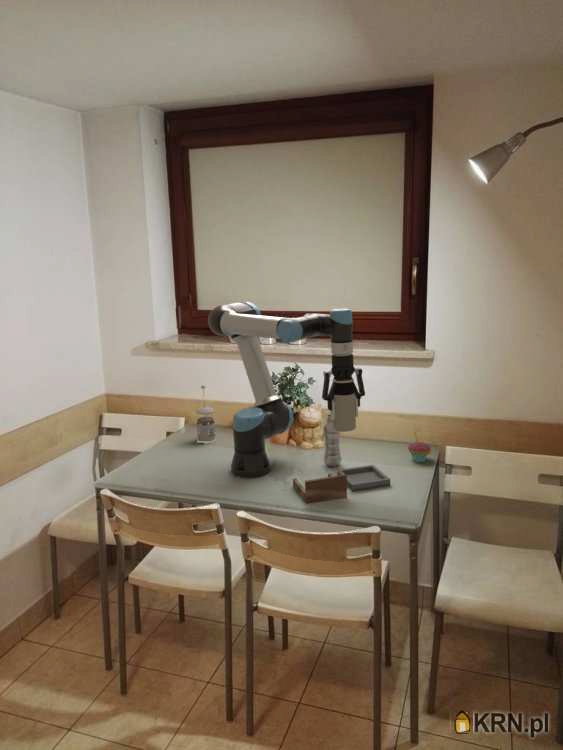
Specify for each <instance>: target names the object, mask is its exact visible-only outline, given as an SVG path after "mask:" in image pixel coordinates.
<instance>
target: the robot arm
mask: <svg viewBox="0 0 563 750" xmlns="http://www.w3.org/2000/svg"><path fill="white" fill-rule="evenodd" d="M353 322H354V321H353V312H352V310H351V309H350V308H332V309H331V310H329V314H327V313H316V312H314V313H313V312H312V313H306V314H304V315H303V316H300V317H296V318H295V317H294V318H293V317H282V316H272V315H270V316H269V315H262V313H261V311H260V309H259V308H258V307H257V305H256V304H254V303H252V302H250V301H238V302H234V303H227V304H221V305H218V306H215V307H214V308H213V309H212V310H211V311H210V313H209V314H208V318H207V324H208V327H209V329H210V330H211V332H213V333H214V334H215V335H217V336H222V337H224V336H225V337H230V338H231V341H233V342H234V343H236V344H237V348H238V351H239V355H240V357H241V360H242V363H243V366H244V369H245V373H246V376H247V378H248V382H249V385H250V388H251V391H252V394H253V397H254V400H255V402H254V404H253V407H252V406H251V407H248V408H247V407H246V408H242V409H240V410H238V411H236V412H235V413H234V414H233V419H232V431H233V444H234V445H233V446H234V447H233V449H234V452H233V457H232V461H231V463H230V472H232V473H233V474H234V476H235V475H236V476H235V477H238V476H240V477H239V478H244V477H246V478H258V477H263V476H265V475H268V473H270V472H271V462H270V460H269V457H268V454H267V451H266V441H265V440H268V439H270V438H273V437H275V436H278V435H281V434H283V433H284V432H286V431H288V430H290V429H291V427H292V424H293V422H294V413H293V410H292V407H291V406H290V405H288V403H287V402H285V401H283V398H282V397H281V396H280V395H278V394H277V392H276V388H275V386H274V383H273V380H272V377H271V374H270V369H269V368H268V364H267V361H266V359H265V355H264V352H263V350H262V346H261V342H260V340H259V338H268V339H278V340H280V341H282V342H283V343H287V344H289V343H296V342H297V341H302V340H305V339H309V338H314V337H318V336H321V337H322V336H327V337H330V347H331V349H330V352H331V354H332V355H331V369H330V370H329V371H326V370H325V371H323V377H324V378H323V385H322V386H323V387H322V394H321V399H322V400H324V401H327V403H326V404H327V410H328V411H329V413H330V416H331V419H333V420H335V402H334V401H333V397H334V390H335V387H336V383H333V382H332V384H331V386H330V383H331V382H330V381H331V376H333V379H337V380H336V381H340V380H346V379H349V380H351V379H354V378H353V374H355V376H356V377H355V378H356V381H357V385H356V383H355V381H353V386H354V387H355V414H356V418H357V417H358V418H359V408H360V406H361V399H362V397H364V396H366V392H365V386H364V382H363V381H364V379H363V369H362V368H360V367H355V366H354V361H355V360H354V354H353V353H354V341H353V339H354V338H353V336H354V335H353V328H354V327H353ZM357 387H358V388H357ZM329 388H330V389H329ZM232 473H231V474H232ZM233 474H232V475H233Z"/></svg>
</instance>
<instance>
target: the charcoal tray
mask: <svg viewBox="0 0 563 750" xmlns="http://www.w3.org/2000/svg"><path fill="white" fill-rule="evenodd" d="M336 472H337V473H336V476H339V475H346V476H347V489H349V490H350V491H351V492H359V490H360V491H364V490H365V489H366V490H372V489H378V488H384V487H390V486H391V478H390V477H388V476H387V475H386V474H385V473H383V472H382V471H381V470H380V469H379V468H378V467H377V466H376V465H374V464H368V465H363V466H355V467H354V466H353V467H348V468H341V469H337V470H336Z"/></svg>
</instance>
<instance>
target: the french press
mask: <svg viewBox="0 0 563 750" xmlns="http://www.w3.org/2000/svg"><path fill="white" fill-rule="evenodd" d="M200 389H202V392H203V393H202V394H203V396H205V391H204V390H205V389H206V385H202V384H201V386H200ZM205 403H206V402H203V405H204V406H201V407H199V408H197V409H196V410H195V414H197V415H198V414H199V415H206V416H203V417H199V418H197V420H196V421H197V422H196V431H197V439H198V440H199V441H212V440H214V439H215V437H216V428H215V427H216V424H215V421H214V417H212V414H213V413H214V411H215V409H214V408H212V407H210V406H205ZM209 414H210V416H209Z"/></svg>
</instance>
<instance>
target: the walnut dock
mask: <svg viewBox="0 0 563 750" xmlns="http://www.w3.org/2000/svg"><path fill="white" fill-rule="evenodd" d="M292 487H293V488H294V490H295V491H296V492H297V493H298V495H299V496H300V497H301V498H302V500H303V501H304V503H305V504H306V505H310V503H311V504H316V503H323V502H328V501H335V500H336V501H337V500H342V499H347V498H348V487H347V476H346V475H339V476H337V475H334V474H333V473H327V476H326V477H325V476H324V477H320V478H319V477H318V478H312V479H307V480H304V486H303V485H302V484H301V482H300V481H299V480H298V478H297V477H296V478H293V479H292Z"/></svg>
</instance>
